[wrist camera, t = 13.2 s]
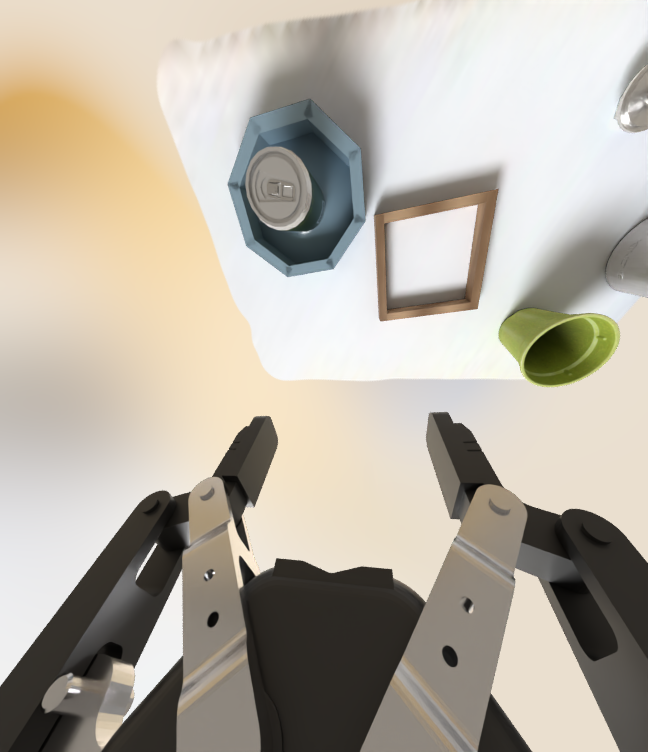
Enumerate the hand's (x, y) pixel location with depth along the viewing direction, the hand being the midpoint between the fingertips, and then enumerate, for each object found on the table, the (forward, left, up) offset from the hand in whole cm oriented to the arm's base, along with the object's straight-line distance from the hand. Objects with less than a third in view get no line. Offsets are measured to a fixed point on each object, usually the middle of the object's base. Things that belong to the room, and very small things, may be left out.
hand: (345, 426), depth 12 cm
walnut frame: (-10, -3, -27) cm, 29 cm away
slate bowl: (+5, -12, -27) cm, 30 cm away
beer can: (+4, -12, -26) cm, 29 cm away
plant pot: (-24, +8, -27) cm, 37 cm away
